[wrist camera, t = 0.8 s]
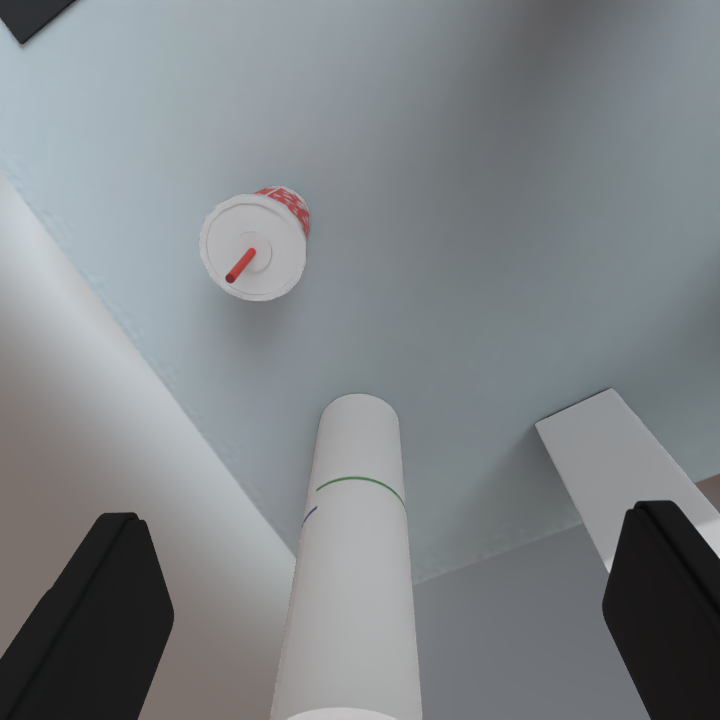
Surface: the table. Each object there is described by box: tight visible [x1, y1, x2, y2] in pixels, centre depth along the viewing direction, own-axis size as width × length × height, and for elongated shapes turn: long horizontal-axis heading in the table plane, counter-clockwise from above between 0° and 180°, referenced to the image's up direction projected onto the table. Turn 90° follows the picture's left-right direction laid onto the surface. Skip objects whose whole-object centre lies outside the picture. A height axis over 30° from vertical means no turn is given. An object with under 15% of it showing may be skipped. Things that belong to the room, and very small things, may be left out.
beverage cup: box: [199, 186, 311, 301], centre depth 30 cm, size 6×6×14 cm
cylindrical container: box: [270, 393, 423, 720], centre depth 33 cm, size 7×7×25 cm
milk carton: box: [535, 388, 720, 574], centre depth 36 cm, size 7×7×19 cm
